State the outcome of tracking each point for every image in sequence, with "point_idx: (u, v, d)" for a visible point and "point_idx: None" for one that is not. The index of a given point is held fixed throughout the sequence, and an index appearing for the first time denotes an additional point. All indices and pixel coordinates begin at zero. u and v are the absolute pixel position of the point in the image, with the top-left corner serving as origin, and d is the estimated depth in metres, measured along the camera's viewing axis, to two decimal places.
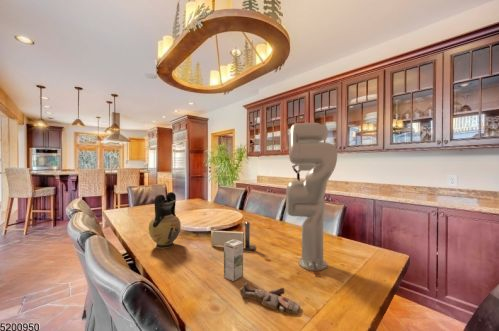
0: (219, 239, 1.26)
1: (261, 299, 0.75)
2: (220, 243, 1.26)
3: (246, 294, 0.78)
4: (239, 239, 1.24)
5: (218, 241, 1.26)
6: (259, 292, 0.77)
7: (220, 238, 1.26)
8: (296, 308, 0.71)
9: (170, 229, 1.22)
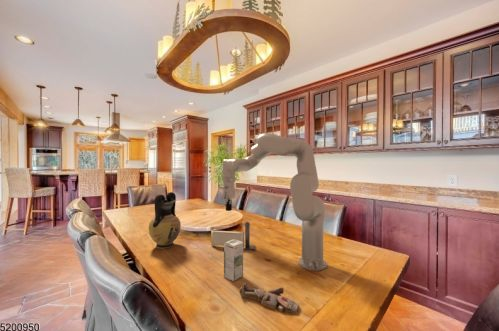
0: (219, 239, 1.26)
1: (260, 299, 0.75)
2: (220, 243, 1.26)
3: (245, 294, 0.78)
4: (239, 239, 1.24)
5: (218, 241, 1.26)
6: (258, 292, 0.77)
7: (220, 238, 1.26)
8: (295, 307, 0.71)
9: (170, 229, 1.22)
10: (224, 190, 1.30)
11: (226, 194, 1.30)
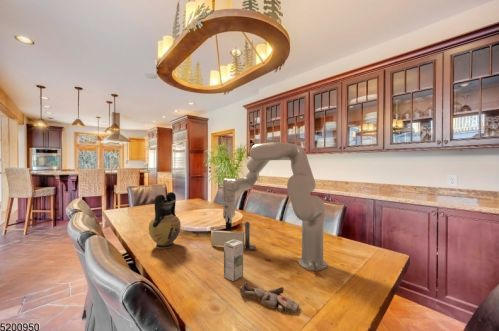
0: (219, 239, 1.26)
1: (260, 298, 0.76)
2: (220, 243, 1.26)
3: (245, 293, 0.79)
4: (239, 239, 1.24)
5: (218, 241, 1.26)
6: (258, 292, 0.78)
7: (220, 238, 1.26)
8: (295, 307, 0.71)
9: (170, 229, 1.22)
10: (224, 209, 1.30)
11: (226, 213, 1.30)
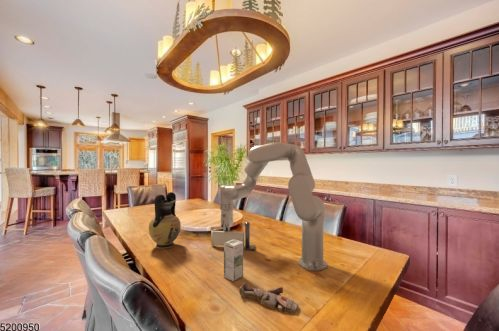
0: (219, 239, 1.26)
1: (260, 298, 0.76)
2: (220, 243, 1.26)
3: (245, 293, 0.78)
4: (239, 239, 1.24)
5: (218, 241, 1.26)
6: (257, 292, 0.77)
7: (220, 238, 1.26)
8: (294, 307, 0.71)
9: (170, 229, 1.22)
10: (222, 218, 1.25)
11: (224, 222, 1.25)
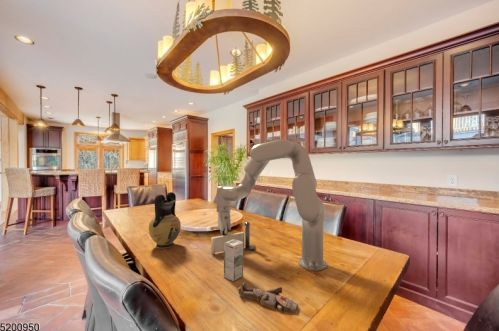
0: (221, 245, 1.17)
1: (259, 298, 0.76)
2: (221, 249, 1.18)
3: (244, 294, 0.78)
4: (240, 240, 1.23)
5: (219, 247, 1.17)
6: (257, 292, 0.77)
7: (222, 243, 1.18)
8: (294, 307, 0.72)
9: (170, 229, 1.22)
10: (223, 221, 1.18)
11: (225, 225, 1.18)
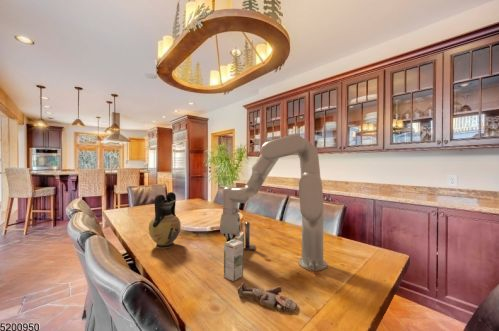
0: None
1: (258, 298, 0.76)
2: None
3: (243, 293, 0.78)
4: (242, 240, 1.23)
5: None
6: (256, 292, 0.77)
7: None
8: (293, 306, 0.72)
9: (170, 229, 1.22)
10: (237, 223, 1.13)
11: None
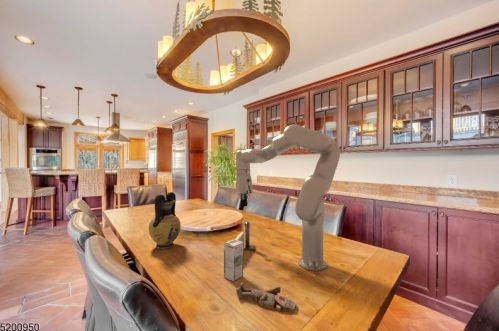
0: None
1: (258, 299, 0.75)
2: None
3: (242, 294, 0.78)
4: (242, 240, 1.23)
5: None
6: (255, 292, 0.77)
7: None
8: (293, 306, 0.72)
9: (170, 229, 1.22)
10: (246, 183, 1.19)
11: (247, 188, 1.20)
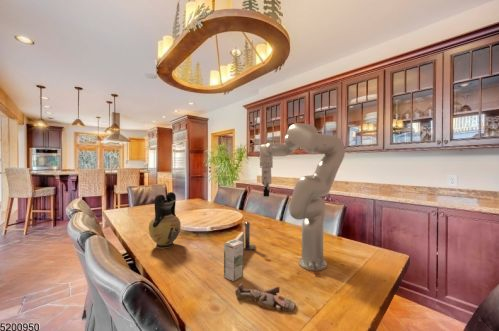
0: None
1: (257, 299, 0.75)
2: None
3: (241, 295, 0.78)
4: (242, 240, 1.23)
5: None
6: (254, 293, 0.77)
7: None
8: (292, 306, 0.72)
9: (170, 229, 1.22)
10: (263, 175, 1.29)
11: (265, 179, 1.29)
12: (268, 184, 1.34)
